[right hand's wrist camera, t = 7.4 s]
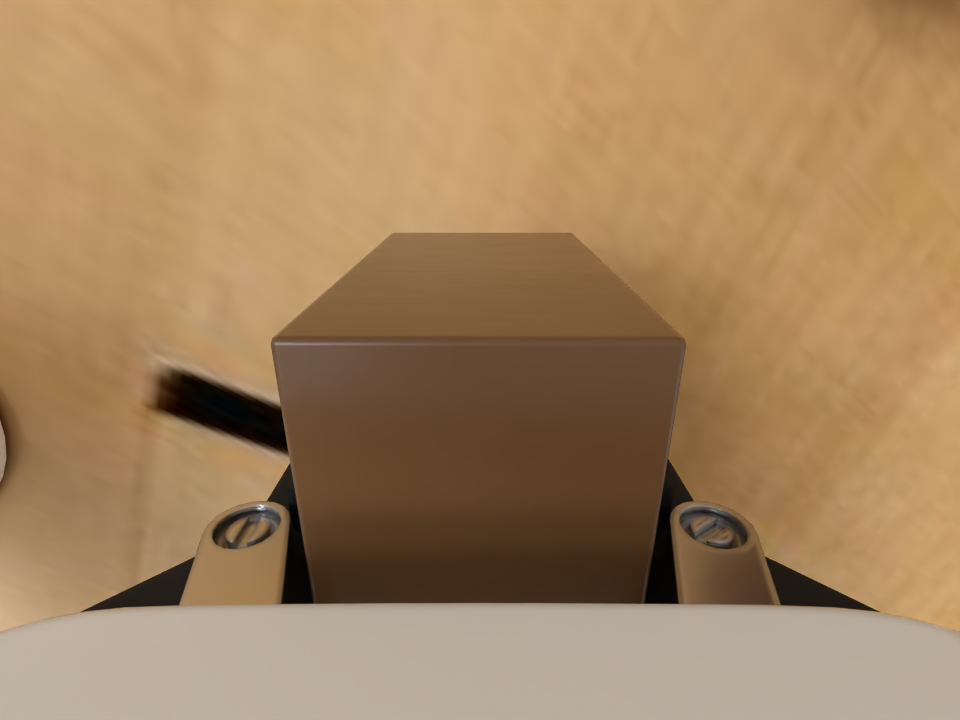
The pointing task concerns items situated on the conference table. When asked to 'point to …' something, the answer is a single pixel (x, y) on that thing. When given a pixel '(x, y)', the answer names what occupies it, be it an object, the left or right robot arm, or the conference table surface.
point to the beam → (478, 424)
